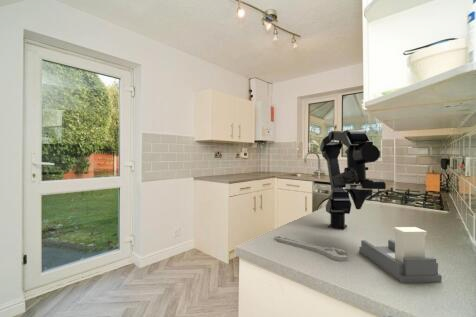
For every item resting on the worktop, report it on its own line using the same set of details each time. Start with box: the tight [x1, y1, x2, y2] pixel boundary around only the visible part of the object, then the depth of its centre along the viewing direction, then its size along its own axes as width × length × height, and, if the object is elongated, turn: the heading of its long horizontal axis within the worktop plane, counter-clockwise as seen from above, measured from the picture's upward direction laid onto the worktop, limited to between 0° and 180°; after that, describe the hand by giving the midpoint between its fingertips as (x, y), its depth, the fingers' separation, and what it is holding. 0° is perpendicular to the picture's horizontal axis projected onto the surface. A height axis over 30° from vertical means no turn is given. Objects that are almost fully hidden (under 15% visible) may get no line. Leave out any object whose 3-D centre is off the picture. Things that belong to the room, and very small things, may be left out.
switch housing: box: [358, 239, 443, 284], centre depth 65 cm, size 18×10×6 cm, turn 2°
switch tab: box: [393, 226, 428, 264], centre depth 59 cm, size 5×6×10 cm
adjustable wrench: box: [274, 235, 349, 262], centre depth 77 cm, size 25×6×2 cm, turn 45°
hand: (358, 209), depth 80 cm, fingers closed
